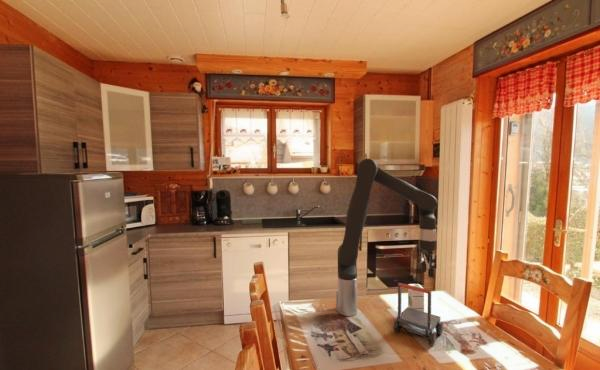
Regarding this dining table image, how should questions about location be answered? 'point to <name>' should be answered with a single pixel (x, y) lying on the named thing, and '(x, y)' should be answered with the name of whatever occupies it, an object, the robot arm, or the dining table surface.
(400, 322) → the trolley
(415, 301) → the syrup box
